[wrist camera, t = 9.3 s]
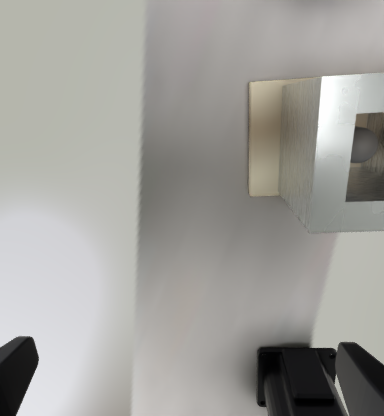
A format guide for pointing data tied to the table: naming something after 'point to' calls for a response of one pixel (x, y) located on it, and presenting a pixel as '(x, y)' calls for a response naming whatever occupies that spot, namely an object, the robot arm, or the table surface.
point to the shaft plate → (270, 136)
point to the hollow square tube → (332, 153)
